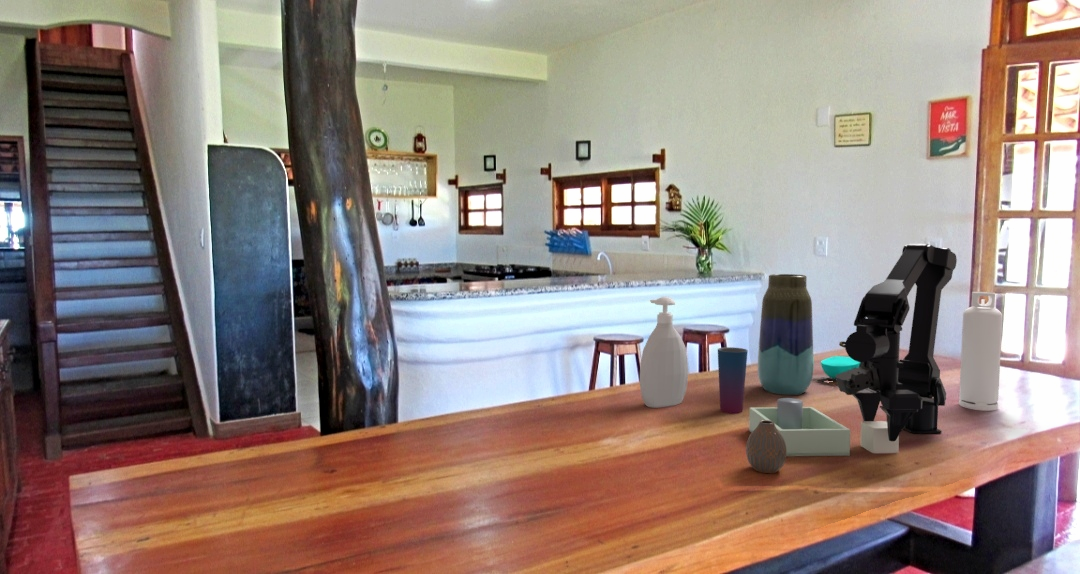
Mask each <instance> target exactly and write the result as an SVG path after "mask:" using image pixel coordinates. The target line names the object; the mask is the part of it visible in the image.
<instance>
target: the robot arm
mask: <svg viewBox="0 0 1080 574" xmlns="http://www.w3.org/2000/svg"><path fill="white" fill-rule="evenodd" d="M901 251H902V252H901V253H902V254H901V255H900V257H899V258H898V260H897V261H896V263H895V264H894V266H893V268H892V269H891V271H890V272H889V273H888V275H887V276H886V277H885V279H884V280H883V281H882V282H879V283H878V284H875V285H873V286H872V287H871V288H870V289H869V290H868V291H867V292H866V293H865V295H864V296H863V297H862V299H861V302H860V305H859V308H858V311H857V314H856V316H855V319H854V322H853V326H855V327H856V328H855V331H854V332H852V333H850V334H849V335H848V336H847V338H846V340H845V341H844V342H845V344H844V345H845V348H844V349H845V352H846V353H847V354H846V355H848V357H850V358H852V359H853V360H855V361H858V362H861V365H860V367H858V368H855V369H851V370H848V371H846V372H843V373H840V374H838V375H836V376H835V378H836V379H835V380H836V381H837V384H838V389H839V392H843V393H845V395H847V396H852V397H854V398H855V400H857V403H858V407H859V409H860V413H861V417H862V420H863V421H875V419H876V416H877V413H878V409H879V408H880V410H882V411H883V413H884V414H885V415H886V421H887V428H888V437H889V441H896V439H897V438H898V436H899V437H900V434H901V433H902V431H903V430H904V431H907V432H909V433H911V434H942V431H943V430H941V429H939V428H938V423H939V422H938V419H939V417H938V416H939V407H944V406H946V400H947V392H946V389H945V387H944V384H943V382H942V379H941V377H940V376H941V370H940V367H939V366H938V364H937V362H936V360H935V358H934V352H935V343H936V338H937V337H936V336H937V329H938V328H937V327H938V321H939V320H938V319H939V311H940V306H941V305H940V304H941V298H942V297H941V296H942V290H943V289H944V288H945V287H946V285H948V283H949V282H950V281H951V280H952V278H953V272H954V270H955V269H956V267H957V261H958V259H957V255H956V253H955V252H953V251H952V249H950V248H948V247H936V246H934V245H933V244H931V245H930V244H929V243H908V244H904V246H903V247H902V250H901ZM914 286H916V291H915V299H914V300H915V301H914V306H913V315H912V323H911V328H910V329H911V331H910V339H909V344H908V345H909V347H908V352H907V354H906V355H905V356H904V358H903V359H900V345H901V344H900V342H901V341H900V340H901V332H902V331H903V326H904V322H905V320H906V319H907V316H908V314H909V311H910V307H911V306H910V304H909V300H908V296H909V294H910V292H911V291H912V289H913V287H914ZM880 404H881V405H880Z"/></svg>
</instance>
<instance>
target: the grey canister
mask: <svg viewBox="0 0 1080 574" xmlns="http://www.w3.org/2000/svg"><path fill="white" fill-rule="evenodd" d="M776 400H777V402H776V403H777V404H776V405H777V406H776V407H777V426H779V427H780V428H781V429H802V416H803V407H804V401H803V400H801V399H798V398H791V397H783V398H777V399H776Z"/></svg>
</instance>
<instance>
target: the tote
mask: <svg viewBox="0 0 1080 574" xmlns="http://www.w3.org/2000/svg"><path fill="white" fill-rule="evenodd" d="M748 414H749V418H748V431H749V432H751V433H752V432H753V431H754V430H755V429H756V427H757V426H758V425H759V422H760V421H762V420H768V421H772V422H774V424H775V427H776V428H777V430H778V431H779V432H780V434H781V435H782V437H783V438H784V441H785V444H786V457H828V456H829V457H830V456H831V457H832V456H833V457H834V456H835V457H840V456H841V457H842V456H843V457H845V456H847V457H848V456H849V457H850V455H851V429H850V428H848V427H846V426H845V425H843V424H841V423H839V422H838V421H836V420H835V419H833V418H831V417H829V416H828V415H826V414H824V413H823V412H821V411H819V410H818V409H816V408H815V407H813V406H803V416H802V429H781V428H780V427H779V426H777V406H775V407H749V412H748ZM751 433H750V434H751Z"/></svg>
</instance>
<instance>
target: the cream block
mask: <svg viewBox="0 0 1080 574" xmlns="http://www.w3.org/2000/svg"><path fill="white" fill-rule="evenodd" d="M899 443H900V435H899V436H898V438H897V439H896V441H889V437H888V428H887V420H874V421H862V420H861V421H860V444H859V445H860V446H861V447H862V448H864V449H866V450H867V451H868V452H870V453H871V454H899V447H900V445H899Z"/></svg>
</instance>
